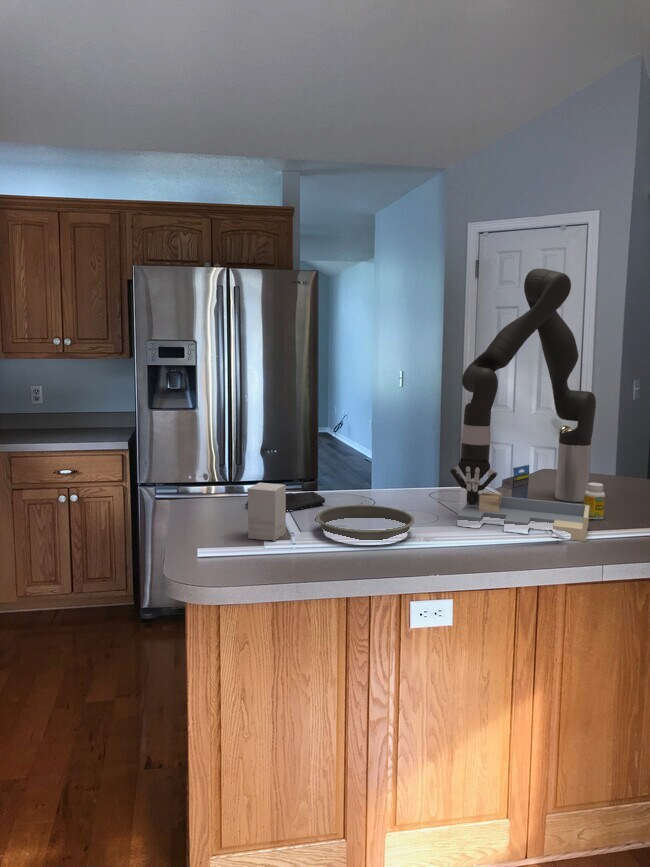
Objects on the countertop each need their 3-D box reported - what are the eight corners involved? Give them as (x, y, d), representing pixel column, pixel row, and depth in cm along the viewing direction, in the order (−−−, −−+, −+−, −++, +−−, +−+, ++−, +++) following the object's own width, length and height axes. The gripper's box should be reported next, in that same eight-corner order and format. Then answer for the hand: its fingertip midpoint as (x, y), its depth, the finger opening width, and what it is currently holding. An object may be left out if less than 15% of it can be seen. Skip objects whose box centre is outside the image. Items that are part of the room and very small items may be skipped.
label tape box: (515, 502, 221) (517, 462, 219) (527, 505, 218) (530, 464, 216) (499, 507, 215) (501, 465, 213) (511, 510, 212) (514, 468, 210)
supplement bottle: (591, 514, 209) (593, 481, 207) (607, 518, 204) (610, 484, 203) (578, 516, 206) (581, 483, 204) (595, 521, 201) (597, 486, 200)
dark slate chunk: (332, 508, 211) (332, 492, 211) (262, 517, 200) (263, 500, 199) (306, 497, 224) (306, 482, 224) (239, 505, 213) (239, 489, 212)
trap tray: (466, 513, 206) (467, 492, 206) (587, 527, 195) (589, 505, 194) (456, 526, 194) (457, 504, 193) (585, 541, 182) (587, 517, 181)
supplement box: (286, 534, 184) (287, 484, 182) (274, 542, 177) (275, 490, 175) (259, 530, 186) (259, 481, 184) (246, 538, 179) (246, 487, 177)
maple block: (482, 506, 203) (482, 492, 202) (500, 508, 201) (501, 494, 200) (478, 510, 198) (479, 495, 198) (497, 512, 196) (498, 497, 196)
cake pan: (304, 524, 194) (304, 507, 193) (391, 518, 201) (391, 502, 201) (333, 552, 171) (334, 533, 170) (430, 544, 178) (431, 526, 177)
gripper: (502, 441, 200) (498, 504, 203) (454, 437, 205) (450, 498, 207) (498, 445, 193) (494, 510, 196) (448, 441, 198) (444, 504, 200)
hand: (471, 504), depth 202 cm, fingers closed
